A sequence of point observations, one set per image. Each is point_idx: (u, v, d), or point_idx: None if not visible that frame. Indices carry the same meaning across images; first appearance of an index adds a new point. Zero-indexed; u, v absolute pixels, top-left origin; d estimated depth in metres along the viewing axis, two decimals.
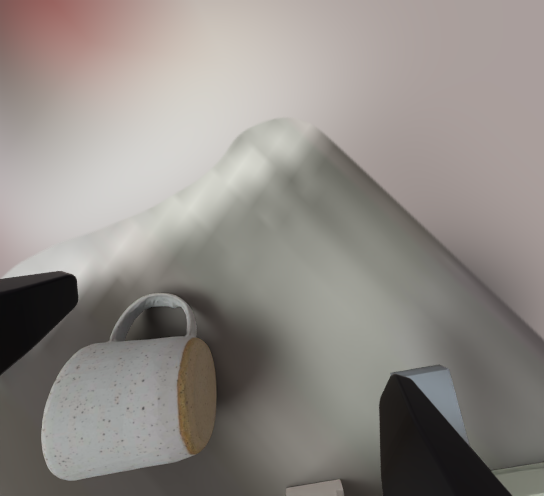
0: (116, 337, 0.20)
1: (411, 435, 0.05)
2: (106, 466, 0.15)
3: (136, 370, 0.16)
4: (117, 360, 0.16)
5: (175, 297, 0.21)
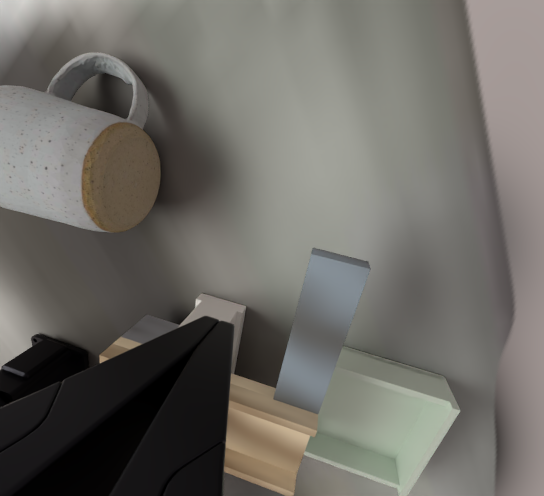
0: (56, 91, 0.17)
1: None
2: (22, 206, 0.16)
3: (46, 128, 0.14)
4: (32, 110, 0.14)
5: (126, 68, 0.17)
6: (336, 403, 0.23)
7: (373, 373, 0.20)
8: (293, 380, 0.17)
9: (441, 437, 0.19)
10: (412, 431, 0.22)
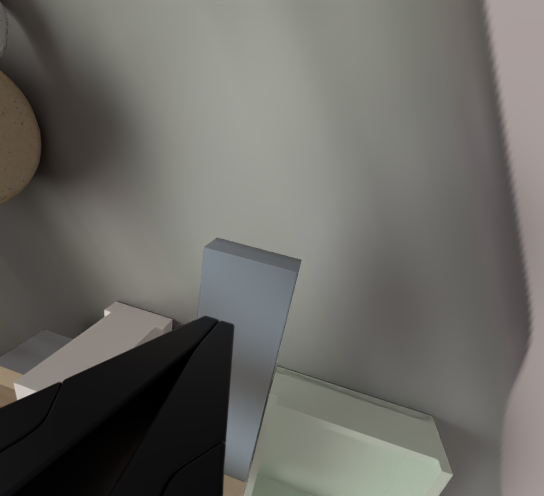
0: None
1: None
2: None
3: None
4: None
5: None
6: (293, 445, 0.18)
7: (333, 415, 0.14)
8: None
9: None
10: (391, 486, 0.17)
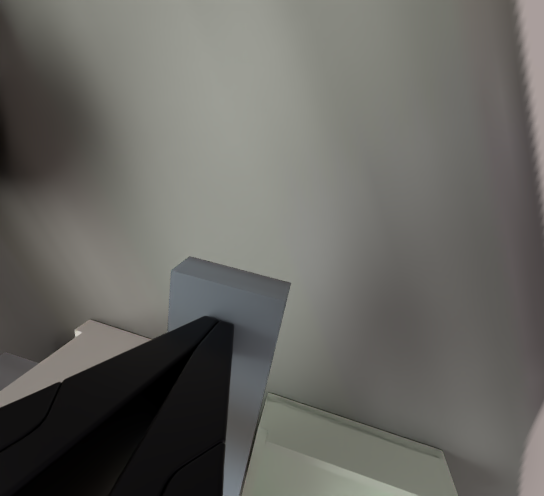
0: None
1: None
2: None
3: None
4: None
5: None
6: (286, 479, 0.16)
7: (330, 453, 0.12)
8: None
9: None
10: None
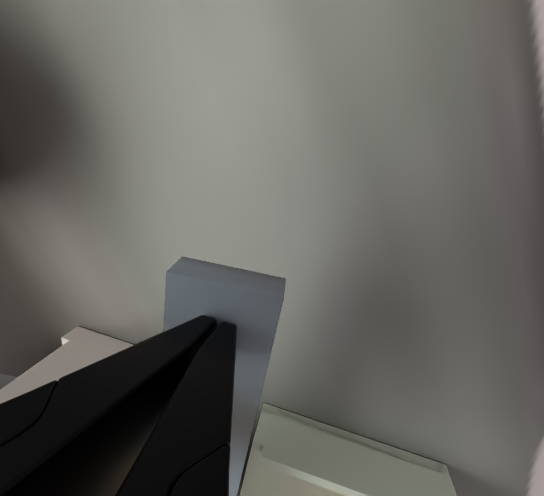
0: None
1: None
2: None
3: None
4: None
5: None
6: (283, 492, 0.15)
7: (328, 469, 0.12)
8: None
9: None
10: None
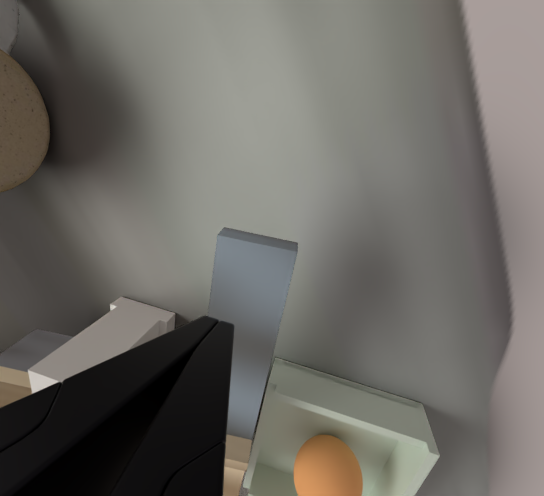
0: None
1: None
2: None
3: None
4: None
5: None
6: (291, 434, 0.19)
7: (328, 402, 0.15)
8: None
9: (416, 488, 0.14)
10: (384, 471, 0.18)
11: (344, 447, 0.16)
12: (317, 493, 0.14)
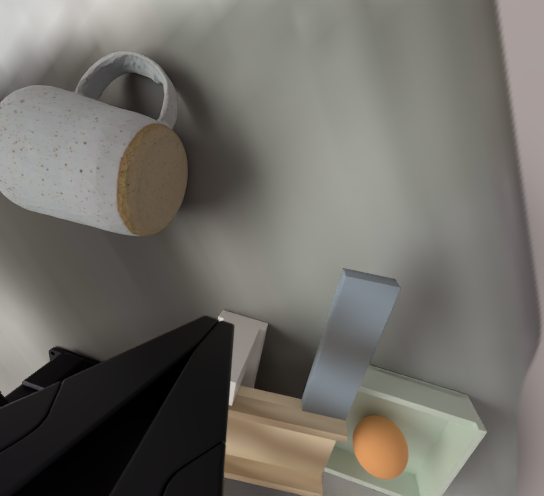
0: (84, 91, 0.17)
1: None
2: (52, 210, 0.15)
3: (80, 129, 0.14)
4: (65, 111, 0.14)
5: (157, 67, 0.17)
6: (357, 419, 0.23)
7: (398, 393, 0.20)
8: (323, 391, 0.18)
9: (466, 457, 0.19)
10: (434, 448, 0.22)
11: (397, 429, 0.21)
12: (365, 445, 0.20)
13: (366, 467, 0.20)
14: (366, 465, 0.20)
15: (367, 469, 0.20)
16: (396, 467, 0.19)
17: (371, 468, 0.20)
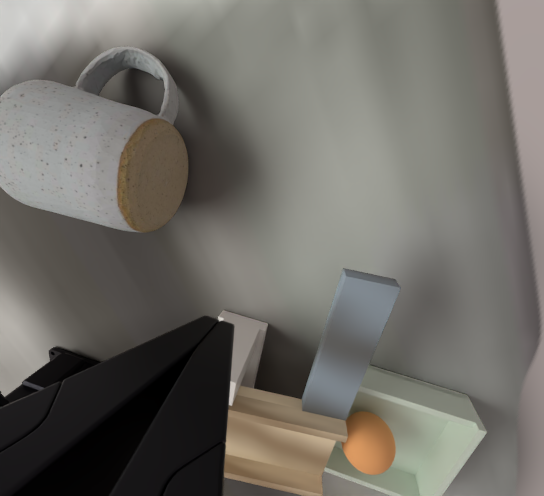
0: (84, 86, 0.17)
1: None
2: (52, 205, 0.15)
3: (80, 123, 0.13)
4: (65, 105, 0.14)
5: (157, 62, 0.16)
6: None
7: (398, 393, 0.20)
8: (323, 392, 0.18)
9: (466, 457, 0.19)
10: (434, 448, 0.22)
11: (386, 430, 0.20)
12: (348, 429, 0.21)
13: (345, 451, 0.21)
14: (344, 449, 0.21)
15: (345, 453, 0.21)
16: (371, 460, 0.19)
17: (348, 452, 0.20)
